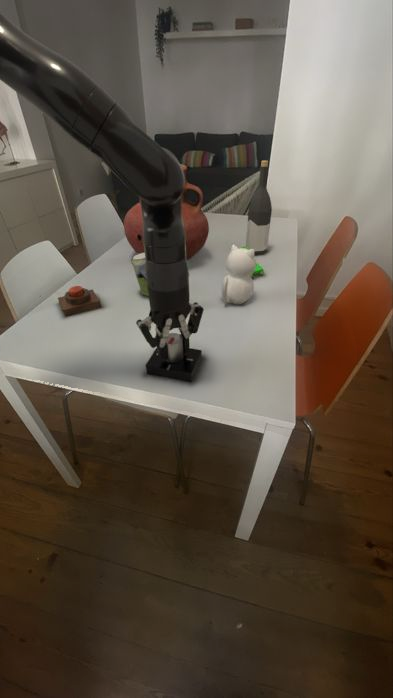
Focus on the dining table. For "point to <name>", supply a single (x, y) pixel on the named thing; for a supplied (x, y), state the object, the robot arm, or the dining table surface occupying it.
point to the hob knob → (174, 348)
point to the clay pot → (191, 218)
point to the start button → (76, 291)
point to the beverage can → (140, 272)
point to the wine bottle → (259, 215)
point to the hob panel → (175, 366)
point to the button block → (79, 302)
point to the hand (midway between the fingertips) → (174, 353)
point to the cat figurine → (239, 276)
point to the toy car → (258, 268)
